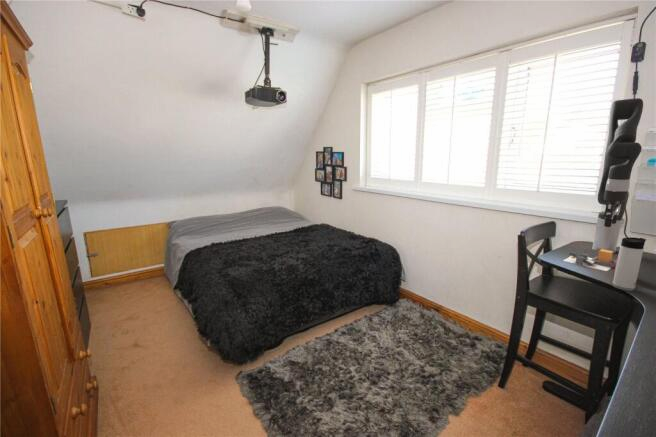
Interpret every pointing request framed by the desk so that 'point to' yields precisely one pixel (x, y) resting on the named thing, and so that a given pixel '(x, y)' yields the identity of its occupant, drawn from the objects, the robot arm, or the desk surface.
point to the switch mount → (580, 259)
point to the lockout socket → (613, 262)
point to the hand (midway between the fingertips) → (610, 225)
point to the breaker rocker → (583, 259)
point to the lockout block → (605, 256)
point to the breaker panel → (573, 260)
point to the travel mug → (628, 263)
